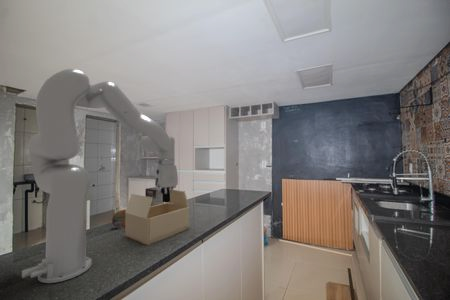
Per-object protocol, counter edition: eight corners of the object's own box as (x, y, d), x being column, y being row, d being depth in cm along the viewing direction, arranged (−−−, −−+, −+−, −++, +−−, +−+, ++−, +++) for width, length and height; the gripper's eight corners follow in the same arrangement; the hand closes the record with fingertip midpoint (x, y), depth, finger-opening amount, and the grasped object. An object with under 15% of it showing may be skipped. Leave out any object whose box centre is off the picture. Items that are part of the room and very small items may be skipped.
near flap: (132, 194, 88) (131, 193, 88) (152, 197, 80) (151, 197, 80) (126, 212, 86) (125, 212, 85) (146, 218, 78) (145, 218, 77)
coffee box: (144, 217, 113) (144, 188, 113) (153, 214, 118) (154, 187, 119) (155, 220, 108) (155, 189, 109) (164, 216, 113) (164, 188, 114)
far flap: (183, 191, 94) (184, 191, 94) (163, 188, 102) (164, 188, 102) (188, 206, 96) (188, 206, 96) (168, 202, 104) (169, 202, 104)
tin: (112, 230, 93) (112, 212, 93) (111, 228, 95) (111, 210, 96) (145, 223, 102) (146, 206, 103) (143, 222, 105) (144, 205, 105)
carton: (148, 245, 77) (148, 219, 77) (124, 235, 86) (125, 212, 87) (189, 228, 95) (189, 207, 95) (166, 222, 104) (166, 202, 105)
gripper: (158, 163, 87) (157, 206, 86) (183, 162, 99) (183, 200, 98) (147, 163, 91) (147, 204, 90) (173, 162, 103) (173, 198, 103)
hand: (166, 201), depth 94 cm, fingers closed
